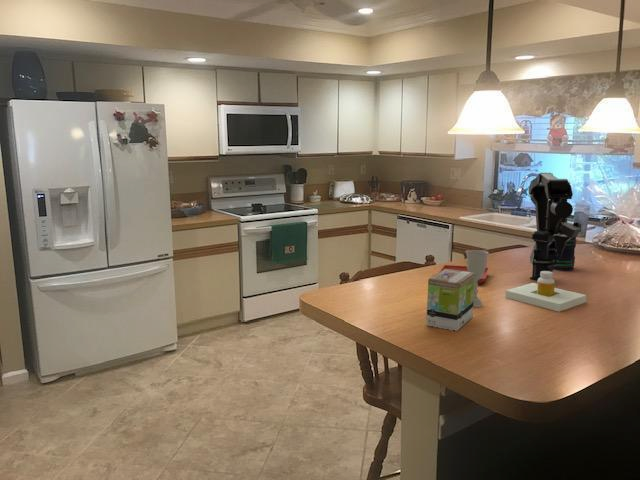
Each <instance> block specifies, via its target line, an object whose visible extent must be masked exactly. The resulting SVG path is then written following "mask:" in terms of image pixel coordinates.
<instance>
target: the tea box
mask: <svg viewBox="0 0 640 480" xmlns="http://www.w3.org/2000/svg"><path fill="white" fill-rule="evenodd" d="M427 283H428V284H427V298H426V299H427V301H426V302H427V303H426V321H425V325H426V326H429V327H432V326H433V327H432V328H437V327H438V329H442V328H443V330H447V329H449V331H453V330H455V331H454V332H458V331H459V329H461V328H462V327H463V326H465V324H466V323H468V321H470V320H471V319H472V318H473V315H474V307H473V301H474V284H475V273H473V272H466V271H458V270H450V269H444V270H443V271H441V272H439V271H438V272H437V273H436V274H434V275H432V276H431V277H429V278H428V281H427Z"/></svg>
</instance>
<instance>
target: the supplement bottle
mask: <svg viewBox="0 0 640 480" xmlns="http://www.w3.org/2000/svg"><path fill="white" fill-rule="evenodd" d="M540 276H541V277H540V278H538V280H537V283H536V284H537V294H539V295H543V296H547V297H550V296H554V288H555V279H553V278H554V277H553V276H554V272H550V271H541V272H540Z"/></svg>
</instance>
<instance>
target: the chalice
mask: <svg viewBox="0 0 640 480" xmlns="http://www.w3.org/2000/svg"><path fill="white" fill-rule="evenodd" d="M465 254H466V266H467V269H468V272H473V273H475V284H474V301H473V308H481V306H482V307H483V306H484V305H483V302H482V299H481V298H480V297H478V292H479V290H478V286H479V284H477V281H478V280H479V279H481V277H482V275H483V273H484V272H485V269H486V267H487V259H488V258H487V257H488V255H489V251H487V250H481V249H470V250H465Z"/></svg>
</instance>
